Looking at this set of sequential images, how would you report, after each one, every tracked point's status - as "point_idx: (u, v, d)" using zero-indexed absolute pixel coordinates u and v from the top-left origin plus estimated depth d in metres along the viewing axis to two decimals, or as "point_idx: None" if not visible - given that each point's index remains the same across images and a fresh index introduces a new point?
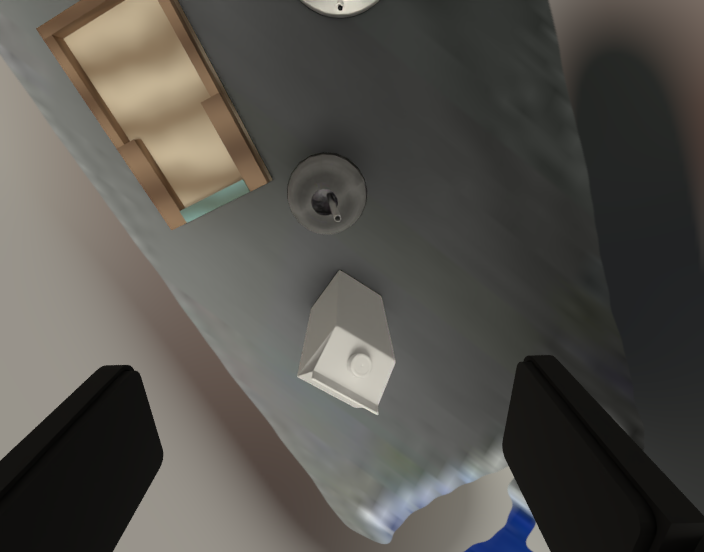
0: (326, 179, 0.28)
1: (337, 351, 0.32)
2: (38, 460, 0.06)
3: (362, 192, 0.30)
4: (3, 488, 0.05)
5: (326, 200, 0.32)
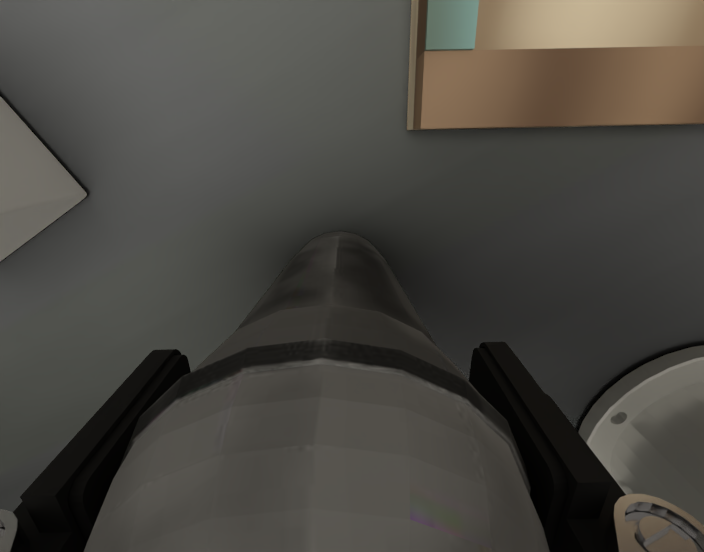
0: None
1: None
2: (113, 430, 0.06)
3: None
4: (89, 453, 0.06)
5: None
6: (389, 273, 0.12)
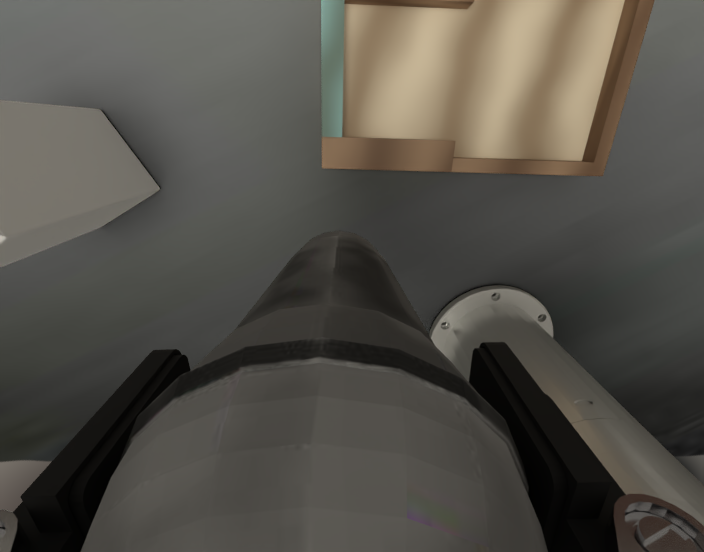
0: None
1: None
2: (113, 430, 0.06)
3: None
4: (89, 453, 0.06)
5: None
6: (388, 273, 0.12)
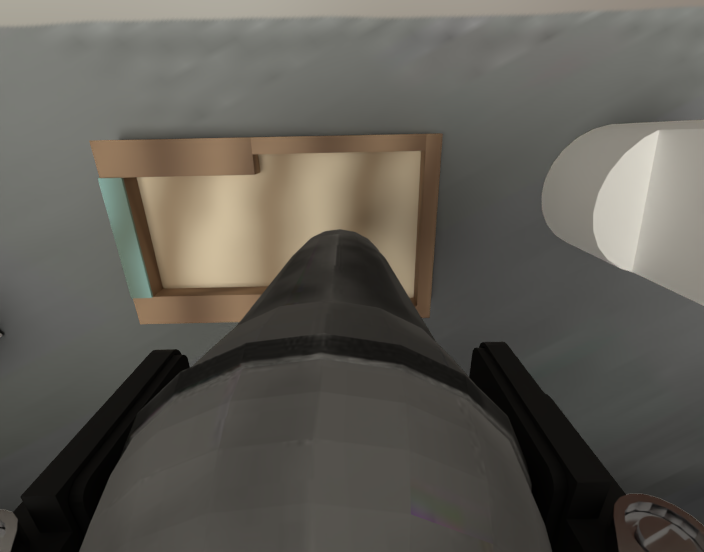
0: None
1: None
2: (113, 430, 0.06)
3: None
4: (89, 453, 0.06)
5: None
6: (389, 271, 0.12)
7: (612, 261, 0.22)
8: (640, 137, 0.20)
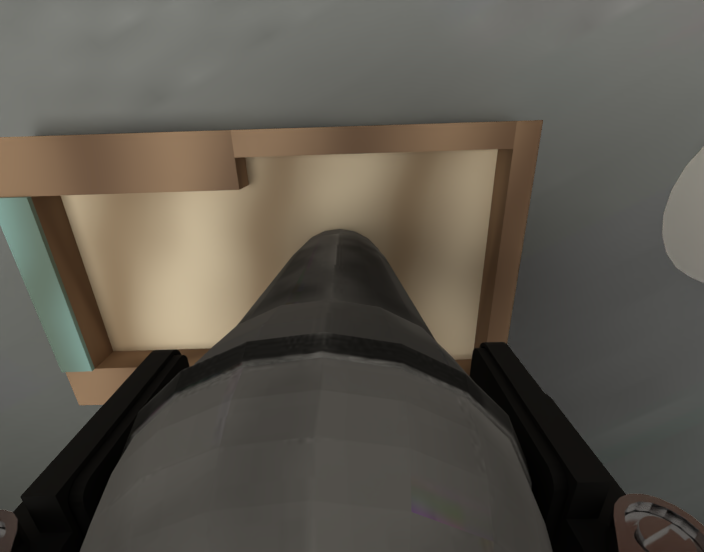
0: None
1: None
2: (113, 430, 0.06)
3: None
4: (89, 454, 0.06)
5: None
6: (389, 270, 0.12)
7: None
8: None
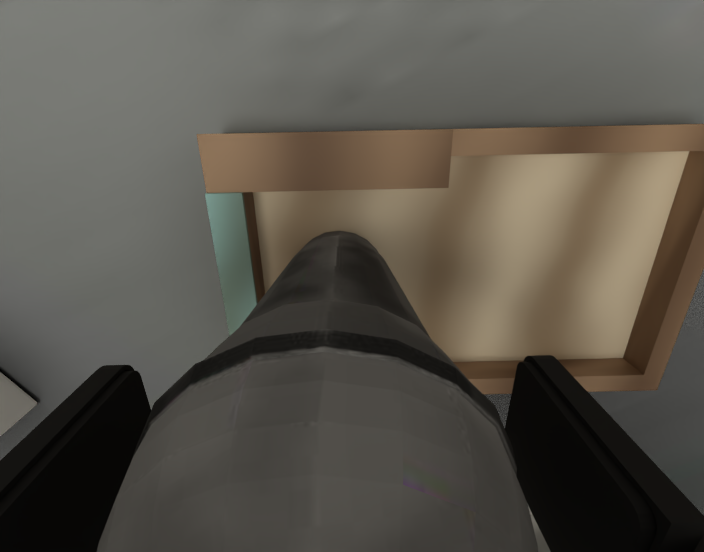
0: None
1: None
2: (38, 460, 0.06)
3: None
4: (3, 489, 0.05)
5: None
6: (387, 271, 0.13)
7: None
8: None
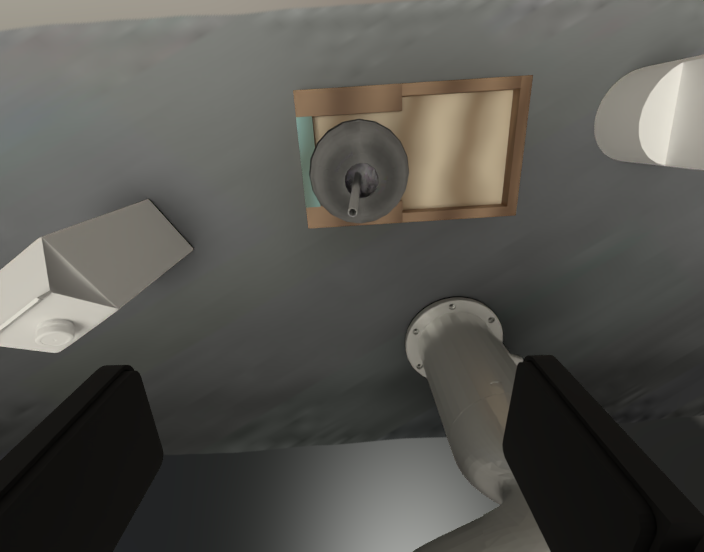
0: (385, 192, 0.23)
1: (79, 311, 0.26)
2: (38, 460, 0.06)
3: (350, 221, 0.25)
4: (3, 489, 0.05)
5: (352, 169, 0.25)
6: None
7: (651, 158, 0.32)
8: (671, 68, 0.30)
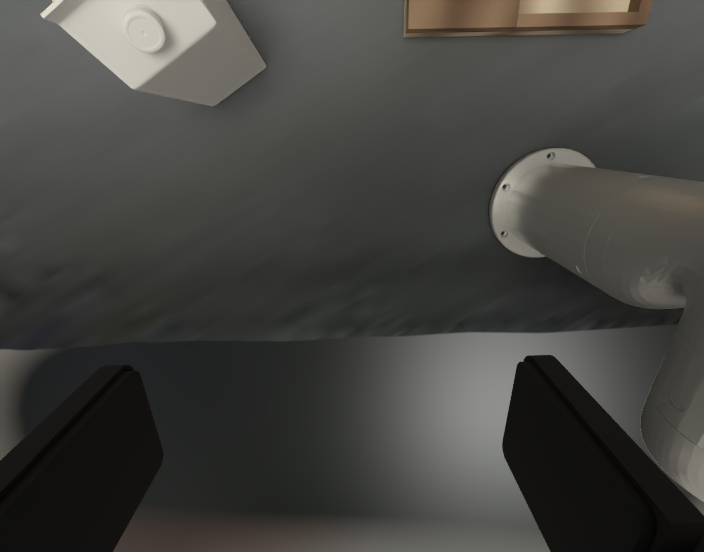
0: None
1: (175, 3, 0.20)
2: (38, 460, 0.06)
3: None
4: (3, 489, 0.05)
5: None
6: None
7: None
8: None
